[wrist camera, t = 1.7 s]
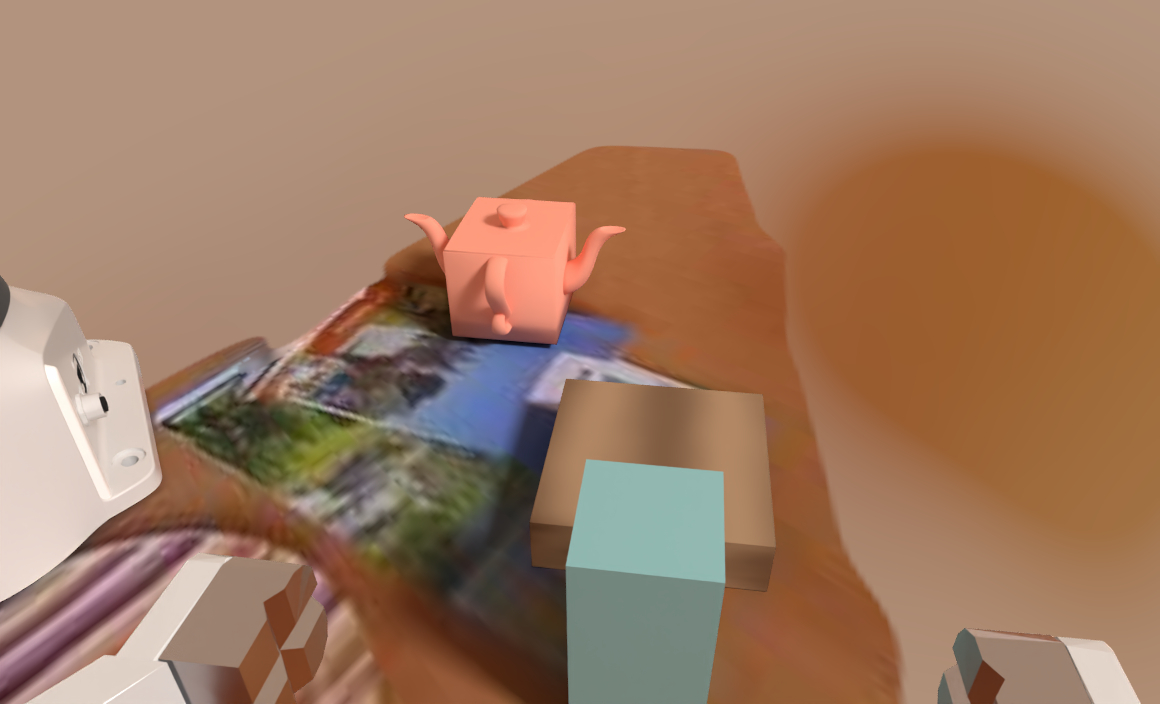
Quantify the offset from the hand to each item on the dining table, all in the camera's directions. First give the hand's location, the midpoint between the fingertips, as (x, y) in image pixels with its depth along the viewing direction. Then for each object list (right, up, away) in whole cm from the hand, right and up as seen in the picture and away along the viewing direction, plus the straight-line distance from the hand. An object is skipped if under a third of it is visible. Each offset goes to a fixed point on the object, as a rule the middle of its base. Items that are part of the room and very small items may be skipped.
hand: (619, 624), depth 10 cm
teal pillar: (+2, -10, +22) cm, 25 cm away
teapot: (-5, +6, +46) cm, 47 cm away
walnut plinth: (+3, -4, +31) cm, 32 cm away
